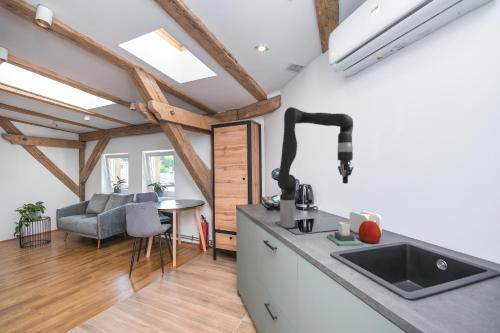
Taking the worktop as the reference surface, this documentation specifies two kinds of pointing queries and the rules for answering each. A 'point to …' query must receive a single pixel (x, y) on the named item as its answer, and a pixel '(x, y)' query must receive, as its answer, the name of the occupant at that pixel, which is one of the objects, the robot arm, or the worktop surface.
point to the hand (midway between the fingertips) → (345, 183)
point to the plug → (344, 228)
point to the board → (344, 240)
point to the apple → (369, 232)
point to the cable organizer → (358, 218)
